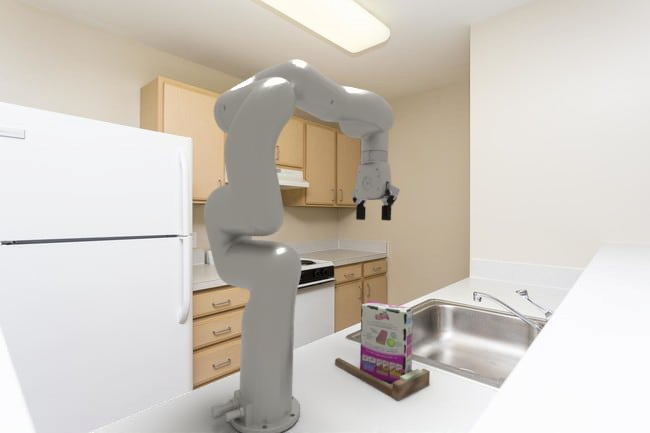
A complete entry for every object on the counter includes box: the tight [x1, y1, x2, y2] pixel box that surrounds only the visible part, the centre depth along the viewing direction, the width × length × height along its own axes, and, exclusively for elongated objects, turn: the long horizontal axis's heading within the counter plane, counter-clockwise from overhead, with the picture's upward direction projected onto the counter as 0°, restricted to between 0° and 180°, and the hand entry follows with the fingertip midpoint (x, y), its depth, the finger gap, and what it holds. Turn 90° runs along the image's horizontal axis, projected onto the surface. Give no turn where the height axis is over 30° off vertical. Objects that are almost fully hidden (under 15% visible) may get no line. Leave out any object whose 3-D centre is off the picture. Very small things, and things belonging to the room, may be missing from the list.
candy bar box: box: [359, 300, 414, 384], centre depth 75 cm, size 11×5×16 cm, turn 57°
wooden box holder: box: [334, 357, 431, 401], centre depth 76 cm, size 11×20×4 cm, turn 39°
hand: (372, 220), depth 91 cm, fingers open, 9 cm apart
